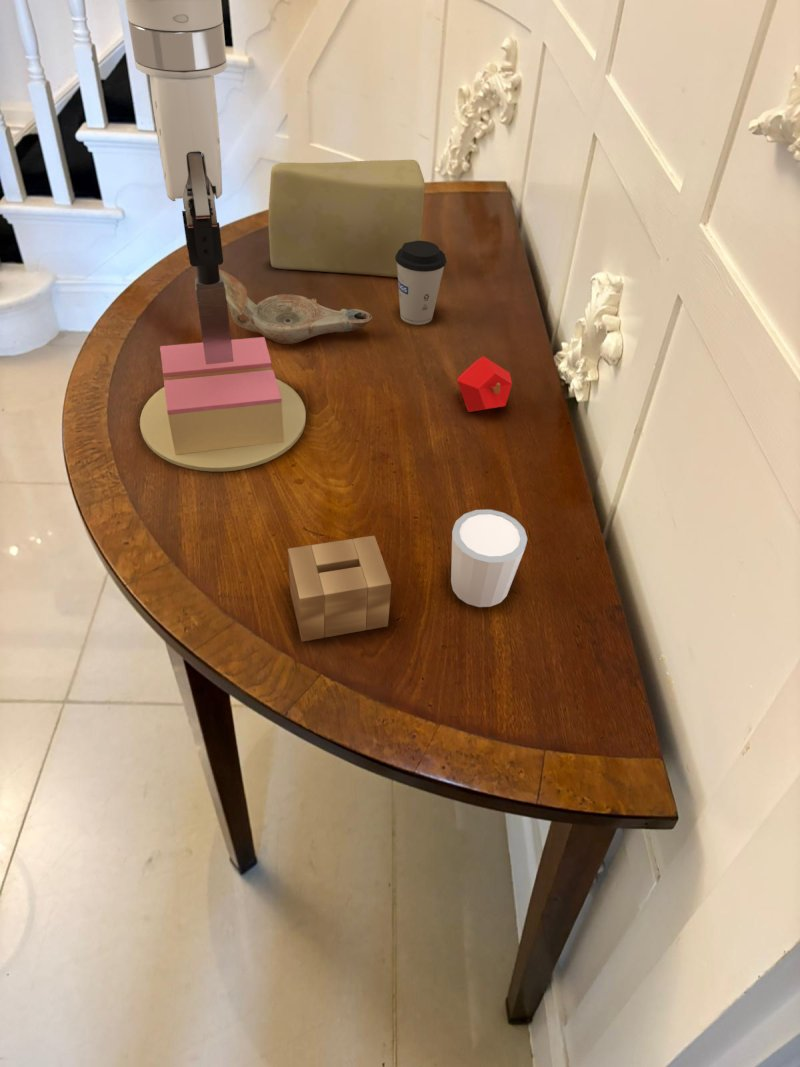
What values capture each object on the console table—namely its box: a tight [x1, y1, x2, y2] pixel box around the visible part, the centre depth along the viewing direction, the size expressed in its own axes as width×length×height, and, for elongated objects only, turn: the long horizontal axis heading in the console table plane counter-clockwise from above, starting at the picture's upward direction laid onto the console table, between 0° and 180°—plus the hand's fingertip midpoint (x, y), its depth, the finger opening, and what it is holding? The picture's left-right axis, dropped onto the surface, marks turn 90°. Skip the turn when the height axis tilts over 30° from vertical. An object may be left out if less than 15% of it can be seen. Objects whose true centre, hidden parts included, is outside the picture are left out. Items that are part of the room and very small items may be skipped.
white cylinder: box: [450, 509, 528, 608], centre depth 74 cm, size 7×7×7 cm
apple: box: [456, 356, 513, 413], centre depth 95 cm, size 7×7×8 cm
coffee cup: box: [395, 240, 447, 326], centre depth 108 cm, size 7×7×10 cm
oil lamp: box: [219, 268, 373, 345], centre depth 103 cm, size 9×21×10 cm, turn 94°
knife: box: [190, 201, 234, 364], centre depth 81 cm, size 3×2×18 cm
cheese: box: [268, 159, 426, 279], centre depth 115 cm, size 22×10×15 cm, turn 96°
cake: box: [139, 336, 307, 473], centre depth 90 cm, size 19×19×7 cm
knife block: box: [287, 535, 392, 643], centre depth 71 cm, size 8×6×6 cm
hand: (205, 255), depth 78 cm, fingers closed on knife, 2 cm apart
